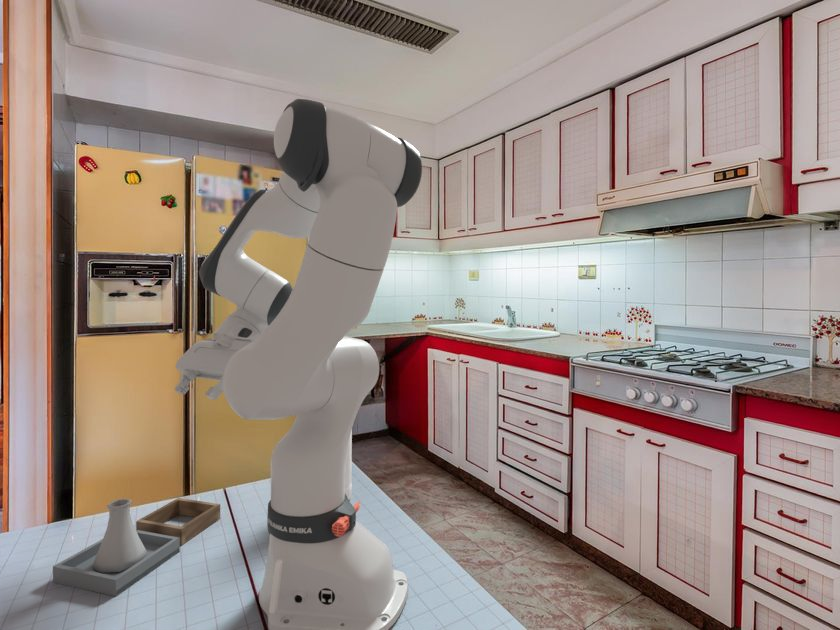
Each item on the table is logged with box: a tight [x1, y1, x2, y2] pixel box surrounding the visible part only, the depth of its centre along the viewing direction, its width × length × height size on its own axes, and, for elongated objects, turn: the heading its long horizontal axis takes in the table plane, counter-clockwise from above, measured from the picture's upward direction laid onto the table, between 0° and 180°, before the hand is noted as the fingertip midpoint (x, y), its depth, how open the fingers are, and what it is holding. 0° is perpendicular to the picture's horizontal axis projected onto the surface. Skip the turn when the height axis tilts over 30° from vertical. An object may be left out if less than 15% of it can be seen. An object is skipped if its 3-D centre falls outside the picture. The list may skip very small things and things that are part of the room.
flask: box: [92, 498, 147, 573], centre depth 75 cm, size 7×7×10 cm
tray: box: [52, 529, 181, 597], centre depth 75 cm, size 12×12×2 cm
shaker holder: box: [135, 497, 221, 546], centre depth 88 cm, size 10×10×3 cm
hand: (194, 395), depth 86 cm, fingers open, 8 cm apart
